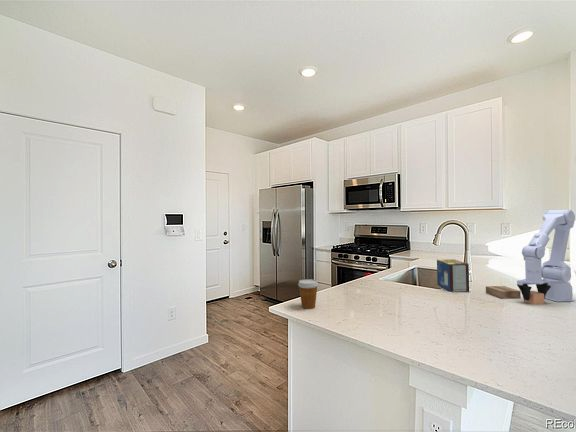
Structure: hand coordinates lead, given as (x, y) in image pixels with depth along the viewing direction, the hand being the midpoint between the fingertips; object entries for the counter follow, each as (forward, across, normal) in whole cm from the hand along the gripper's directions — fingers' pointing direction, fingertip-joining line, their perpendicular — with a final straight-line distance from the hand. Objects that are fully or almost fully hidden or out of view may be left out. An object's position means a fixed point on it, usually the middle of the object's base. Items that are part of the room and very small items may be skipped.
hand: (533, 299), depth 128 cm
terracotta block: (+2, 0, 0) cm, 2 cm away
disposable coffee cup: (+2, -107, +4) cm, 107 cm away
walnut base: (+2, -5, +12) cm, 13 cm away
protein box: (+2, -21, +28) cm, 35 cm away
